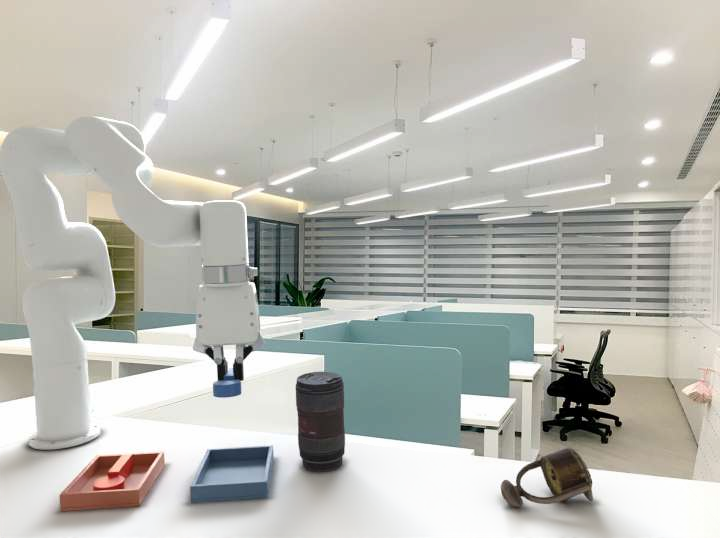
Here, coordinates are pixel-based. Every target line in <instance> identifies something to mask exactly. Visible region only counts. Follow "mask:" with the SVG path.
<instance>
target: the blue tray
mask: <svg viewBox="0 0 720 538" xmlns="http://www.w3.org/2000/svg"><path fill="white" fill-rule="evenodd" d="M274 457H275V456H274V445H272V444H271V445H255V446H240V447H238V446H237V447H219V448H207V450H206V452H205V454H204V456H203V457H202V459H201V462H200V464H199V467H198V469H197V471H196V472H195V475H194V477H193V479H192V481H191V484H190V486H189V493H190V494H189V495H190V503H191V504H194V503H195V504H197V503H208V502H209V503H211V502H226V501H238V500H239V501H241V500H256V499H257V500H258V499H267V498H268V496H269V490H270V485H271V478H272V471H273V466H274V461H275V460H274V459H275V458H274Z"/></svg>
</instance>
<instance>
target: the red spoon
mask: <svg viewBox="0 0 720 538" xmlns="http://www.w3.org/2000/svg"><path fill="white" fill-rule="evenodd" d="M132 470H133V465H132V455H122V456H121V457H120V458H119V460H118V461H117V462H116V463H115V464H114V466H113V467H112V468H111V469H110V470H109V472H108V476H107V477H103V478H100V479H98V480H96V481H95V482H94V483H93V491H102V490H118V489H125V479H126V478H127V477H128V475H129V474H130V472H131V471H132Z"/></svg>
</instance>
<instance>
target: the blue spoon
mask: <svg viewBox="0 0 720 538" xmlns="http://www.w3.org/2000/svg"><path fill="white" fill-rule="evenodd" d="M240 395H242V381H240V380H236V379H234V375H233V367H231V368H228V372H227V374H226V375H224V380H219V381H218V380H216V381H213V383H212V397H214V398H218V399H219V398H223V399H225V398H226V399H227V398H234V397H238V396H240Z"/></svg>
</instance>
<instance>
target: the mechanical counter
mask: <svg viewBox="0 0 720 538" xmlns="http://www.w3.org/2000/svg"><path fill="white" fill-rule="evenodd" d="M538 468H540V469H541V472H542V474H543V477H544V480H545V482H546V485H547V488H548V489H549V491H550V493H551V494H552V495H551V496H545V497H543V496H537V495H533V494H531V493H529V492H527V491H526V490H524V488H523V487H522V485H521V480H522V478H523V476H524V475H525V474H527V472H529V471H531V470H534V469H538ZM515 483H516V485H514V484H513V483H512V482H511V481H510V480H508V479H503V481H502V482H501V484H500V492H501V496H502V497H503V499H504V500H505V502H506V503H507V504H509V505H510V506H512V507H515V508H521V507H522V506H523V505H524V501H523V499H522V498H525V499H526V500H527V501H529V502H532V503H536V504H539V505H540V504H542V505H551V504H555V503H556V504H557V503H559V502H562V501H566V500H568V499H571V498H574V497H576V496H579V495H582V494H583V496H584V497H585V498H586V499H587V500H588V501H589V502H591V503H592V502H593V501H594V497H593V490H592V489H593V479H592V477H591V474H590V470H589V469H588V467H587V464H586V462H585V461H584V460H583V458H582V456H581V454H579V452H578V451H577V450H575V449H574V448H572V447H570V446H567V447H565V448H563V449H560V450H557V451H555V452H552V453H549V454H545V455H543V456H541V457H540V459H538V460H535V461H532V462H530V463H528V464H525V466H523V467H522V468H521V469H520V470H519V471H518V472H517V474H516V479H515Z"/></svg>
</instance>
